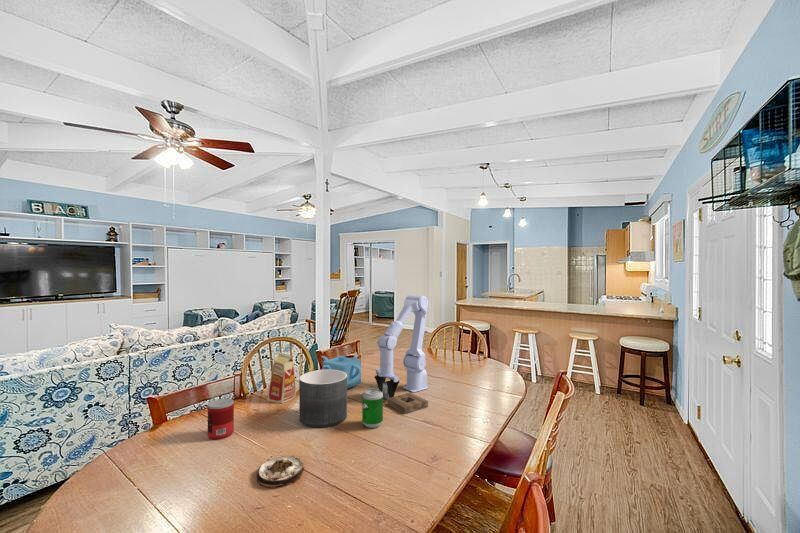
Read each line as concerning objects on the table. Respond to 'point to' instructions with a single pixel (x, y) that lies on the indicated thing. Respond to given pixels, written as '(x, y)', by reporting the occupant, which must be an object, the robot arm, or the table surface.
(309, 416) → the planter
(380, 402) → the soda can
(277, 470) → the sushi roll
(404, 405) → the socket block
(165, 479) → the table surface
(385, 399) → the long pin
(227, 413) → the canned food
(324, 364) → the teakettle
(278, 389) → the milk carton
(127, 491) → the table surface
